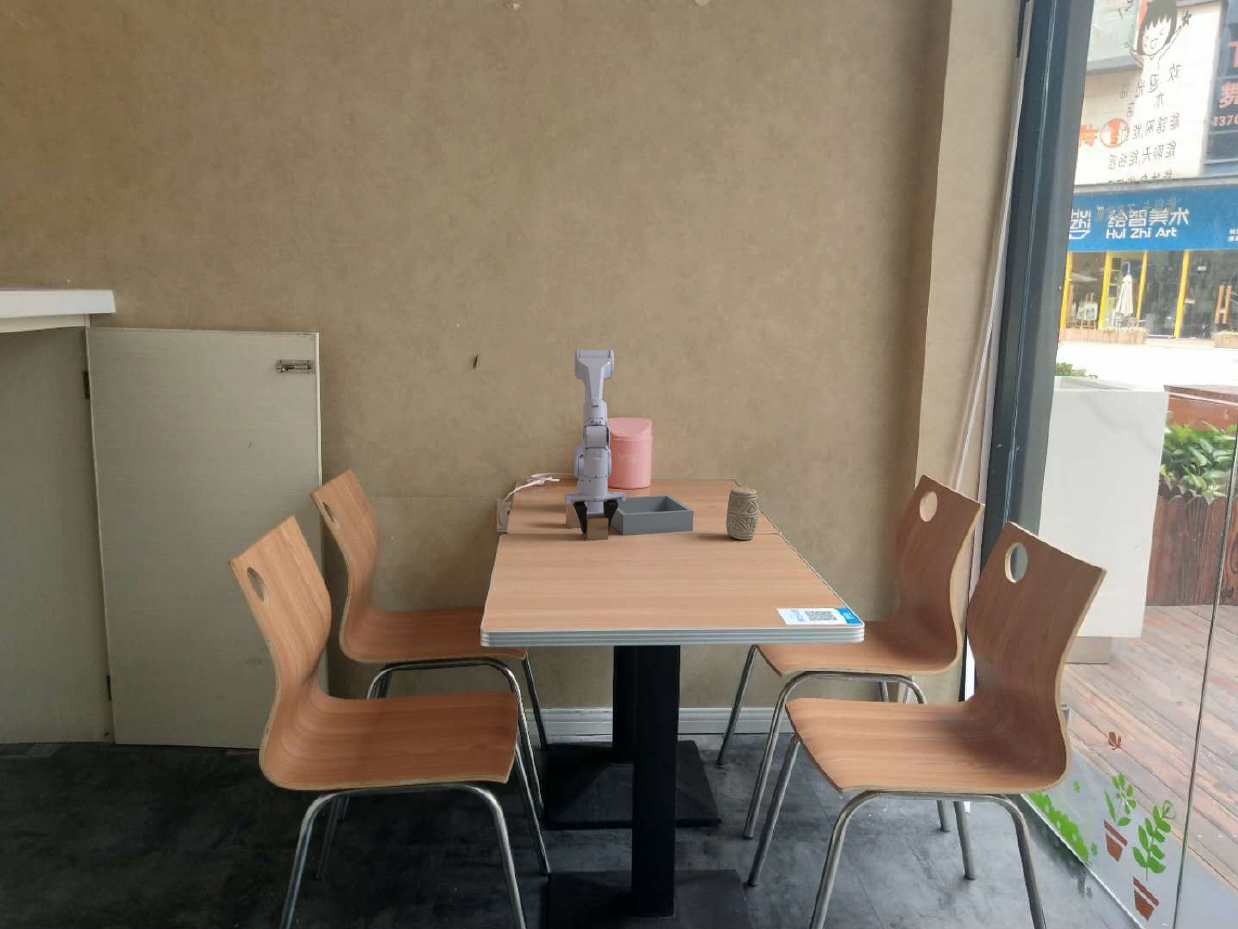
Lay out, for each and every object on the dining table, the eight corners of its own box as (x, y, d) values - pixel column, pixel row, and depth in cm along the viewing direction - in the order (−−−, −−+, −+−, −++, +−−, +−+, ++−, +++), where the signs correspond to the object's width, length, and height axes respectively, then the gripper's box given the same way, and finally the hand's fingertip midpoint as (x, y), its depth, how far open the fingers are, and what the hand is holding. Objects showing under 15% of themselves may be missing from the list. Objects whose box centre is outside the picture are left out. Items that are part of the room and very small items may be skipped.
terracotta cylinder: (563, 524, 227) (563, 497, 226) (583, 523, 229) (583, 496, 227) (568, 529, 223) (568, 501, 221) (588, 528, 224) (588, 500, 223)
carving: (758, 541, 214) (760, 492, 212) (726, 541, 214) (728, 491, 212) (755, 534, 220) (757, 486, 218) (724, 534, 220) (726, 486, 218)
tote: (602, 517, 235) (603, 498, 234) (668, 513, 240) (668, 494, 239) (623, 535, 218) (623, 515, 217) (692, 530, 223) (693, 510, 222)
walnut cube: (582, 535, 218) (582, 515, 217) (602, 534, 219) (602, 513, 218) (587, 540, 213) (587, 520, 212) (608, 539, 214) (608, 519, 213)
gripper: (569, 480, 207) (569, 537, 210) (629, 477, 211) (629, 533, 214) (562, 474, 214) (562, 530, 216) (621, 471, 218) (620, 526, 221)
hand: (595, 531), depth 216 cm, fingers closed on walnut cube, 5 cm apart
